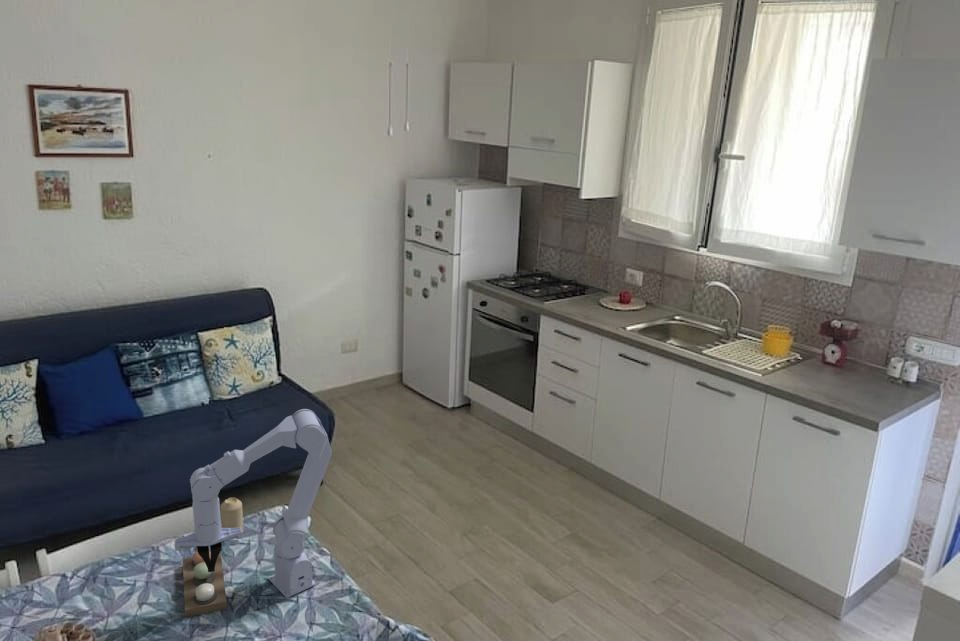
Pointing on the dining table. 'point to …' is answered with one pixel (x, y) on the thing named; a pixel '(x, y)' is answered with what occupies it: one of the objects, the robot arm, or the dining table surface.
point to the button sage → (201, 571)
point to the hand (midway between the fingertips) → (211, 569)
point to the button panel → (192, 583)
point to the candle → (232, 513)
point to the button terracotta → (198, 558)
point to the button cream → (204, 592)
